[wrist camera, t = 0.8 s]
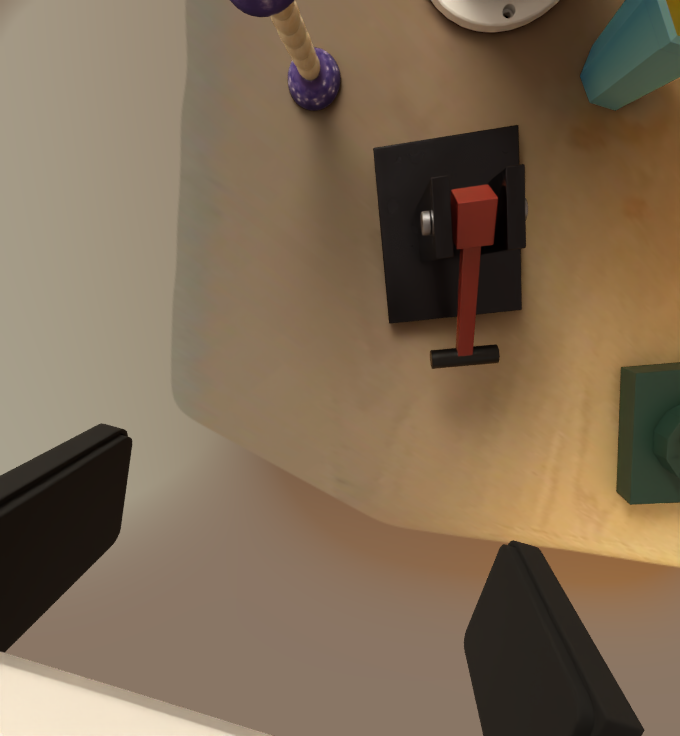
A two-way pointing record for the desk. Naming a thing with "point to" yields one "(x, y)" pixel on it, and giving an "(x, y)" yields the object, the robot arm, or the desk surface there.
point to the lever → (469, 273)
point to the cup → (634, 53)
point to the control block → (649, 434)
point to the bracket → (448, 222)
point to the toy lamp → (299, 53)
